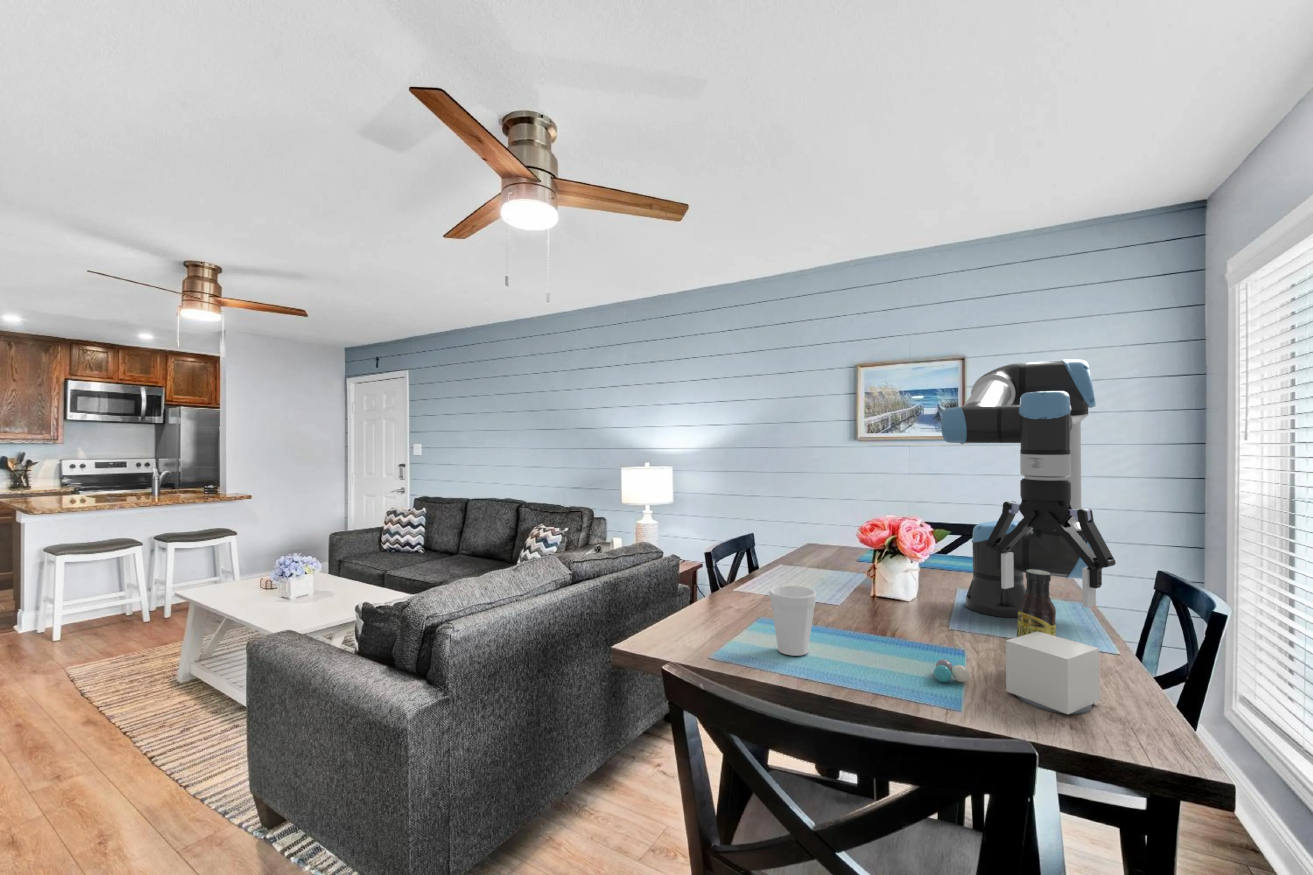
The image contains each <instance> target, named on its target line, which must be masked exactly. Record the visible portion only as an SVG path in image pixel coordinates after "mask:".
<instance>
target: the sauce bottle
mask: <svg viewBox="0 0 1313 875" xmlns="http://www.w3.org/2000/svg"><path fill="white" fill-rule="evenodd" d="M1025 578H1026V586H1025V588H1026V593H1025V596H1024V598H1023V601H1022V604H1021V606H1020V609H1019V611H1018V617H1017V624H1016V627H1017V628H1016V629H1017V630H1016V637H1020V636H1023V635H1027V634H1030V633H1033V632H1037V631H1038V632H1042V633H1046V634H1049V635H1053V636H1056V633H1057V623H1056V622H1057V621H1056V615H1057V610H1056V606H1055V605H1054V603H1053V602H1052V600H1051V598H1050V594H1051V592H1050V582H1051V579H1052V576H1051V574H1050V573H1049V572H1046V571H1042V570H1034V569H1030V570H1026V573H1025ZM1056 637H1057V636H1056Z"/></svg>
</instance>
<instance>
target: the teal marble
mask: <svg viewBox="0 0 1313 875" xmlns="http://www.w3.org/2000/svg"><path fill="white" fill-rule="evenodd" d="M933 675H934V677H935V679H936V680H937V681H939V682H941V683H947V682H950V680H951V679H952V677H953V676H952V674H951V671H950V669H949V668H948V667H946V666H944V665H938V666H937V667H936V666H935V668H934V671H933Z"/></svg>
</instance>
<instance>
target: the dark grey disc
mask: <svg viewBox="0 0 1313 875" xmlns="http://www.w3.org/2000/svg"><path fill="white" fill-rule="evenodd" d="M1015 696H1016V697H1017V698H1018V699H1019V700H1021V701H1022V702H1024V703H1025V704H1027V705H1030V706H1032V707H1035V708H1038V709H1040V710H1044V711H1047V712H1051V713H1056V714H1057V713H1058V714H1063V715H1064V714H1065V713H1063V712H1060V711H1057V710H1055V709H1052V708H1050V707H1047V706H1044V705H1042V704H1039V703H1036V702H1034V701H1031V700H1028V699H1026V698H1023V697H1021V696H1018V695H1015ZM1092 705H1093V704H1091V705H1089V706H1087V707H1084V708H1082V709H1080V710H1077V711H1075V712H1073V713H1070V714H1069V715H1084V714H1087V713H1089V712H1091V710H1092ZM1065 715H1066V714H1065Z"/></svg>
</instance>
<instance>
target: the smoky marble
mask: <svg viewBox="0 0 1313 875" xmlns="http://www.w3.org/2000/svg"><path fill="white" fill-rule="evenodd" d="M938 665H944V666H946V667H948V668H949V669H950V671H951V672H952V668H953V667H954V666H953V664H952V663H951V662H950V661H949V660H947V659H944V658H943V659H939V660H937V662H936V664H935V667H937V666H938ZM951 674H952V673H951Z"/></svg>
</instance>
